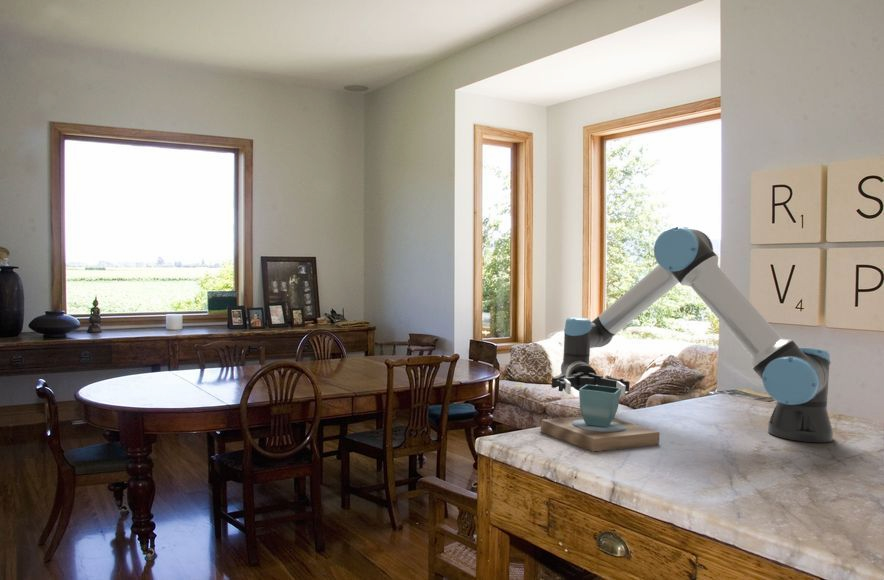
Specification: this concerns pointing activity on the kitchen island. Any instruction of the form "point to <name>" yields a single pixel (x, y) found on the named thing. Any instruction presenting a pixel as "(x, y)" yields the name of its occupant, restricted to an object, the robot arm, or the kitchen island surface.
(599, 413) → the flower pot
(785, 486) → the kitchen island surface
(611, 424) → the walnut plinth
